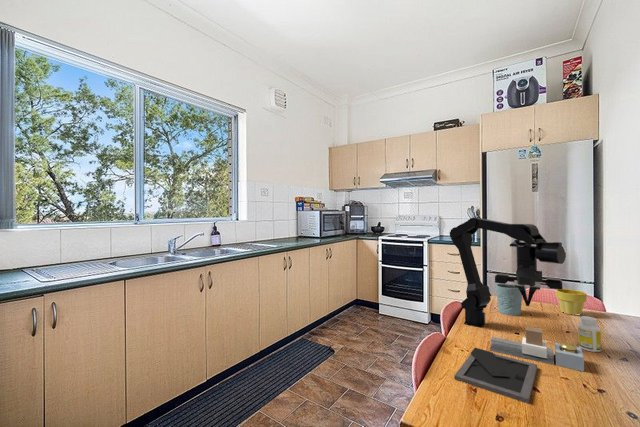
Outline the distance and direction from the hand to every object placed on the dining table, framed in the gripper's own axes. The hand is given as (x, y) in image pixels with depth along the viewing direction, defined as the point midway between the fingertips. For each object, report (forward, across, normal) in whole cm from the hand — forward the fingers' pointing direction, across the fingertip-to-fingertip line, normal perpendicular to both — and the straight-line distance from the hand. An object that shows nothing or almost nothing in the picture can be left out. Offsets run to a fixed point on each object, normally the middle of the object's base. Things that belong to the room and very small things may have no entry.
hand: (527, 305), depth 102 cm
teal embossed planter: (+12, -8, +33) cm, 36 cm away
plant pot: (+12, +14, +47) cm, 51 cm away
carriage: (+12, +2, -12) cm, 17 cm away
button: (+11, +10, -12) cm, 19 cm away
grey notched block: (+12, +10, -12) cm, 20 cm away
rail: (+12, -2, -12) cm, 17 cm away
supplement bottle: (+12, +16, +4) cm, 21 cm away
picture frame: (+13, -6, -31) cm, 34 cm away
